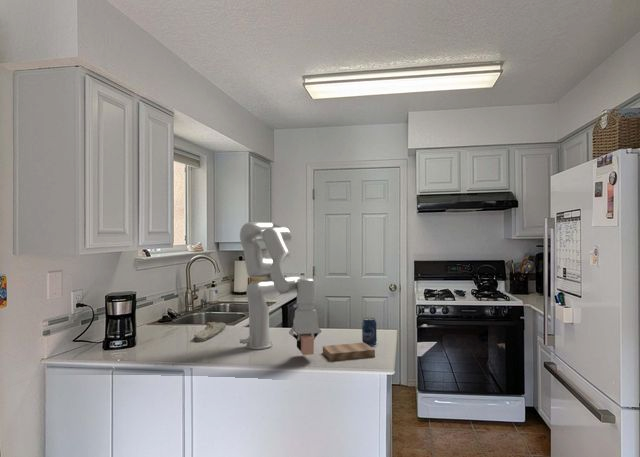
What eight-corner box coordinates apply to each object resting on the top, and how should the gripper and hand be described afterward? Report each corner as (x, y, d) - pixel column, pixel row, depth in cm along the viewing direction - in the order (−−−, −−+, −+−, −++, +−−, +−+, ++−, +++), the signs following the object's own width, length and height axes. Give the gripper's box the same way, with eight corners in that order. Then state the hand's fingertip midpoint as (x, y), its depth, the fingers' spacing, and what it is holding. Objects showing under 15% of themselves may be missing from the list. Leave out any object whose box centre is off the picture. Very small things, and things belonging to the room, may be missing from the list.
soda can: (362, 345, 208) (361, 320, 209) (362, 341, 215) (362, 317, 215) (376, 345, 207) (376, 320, 207) (376, 341, 214) (376, 317, 214)
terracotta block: (303, 355, 182) (303, 338, 182) (297, 347, 194) (297, 331, 193) (313, 354, 183) (313, 337, 183) (307, 346, 195) (307, 330, 195)
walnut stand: (331, 360, 184) (330, 353, 184) (322, 352, 196) (322, 346, 196) (375, 356, 189) (374, 349, 189) (364, 348, 202) (364, 342, 202)
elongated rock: (188, 345, 220) (207, 346, 219) (188, 334, 220) (207, 336, 219) (213, 326, 255) (229, 327, 254) (213, 317, 255) (229, 318, 254)
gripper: (287, 309, 182) (287, 352, 182) (326, 307, 187) (326, 349, 187) (284, 306, 190) (284, 347, 190) (321, 304, 194) (321, 345, 194)
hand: (305, 348), depth 188 cm, fingers closed on terracotta block, 4 cm apart
